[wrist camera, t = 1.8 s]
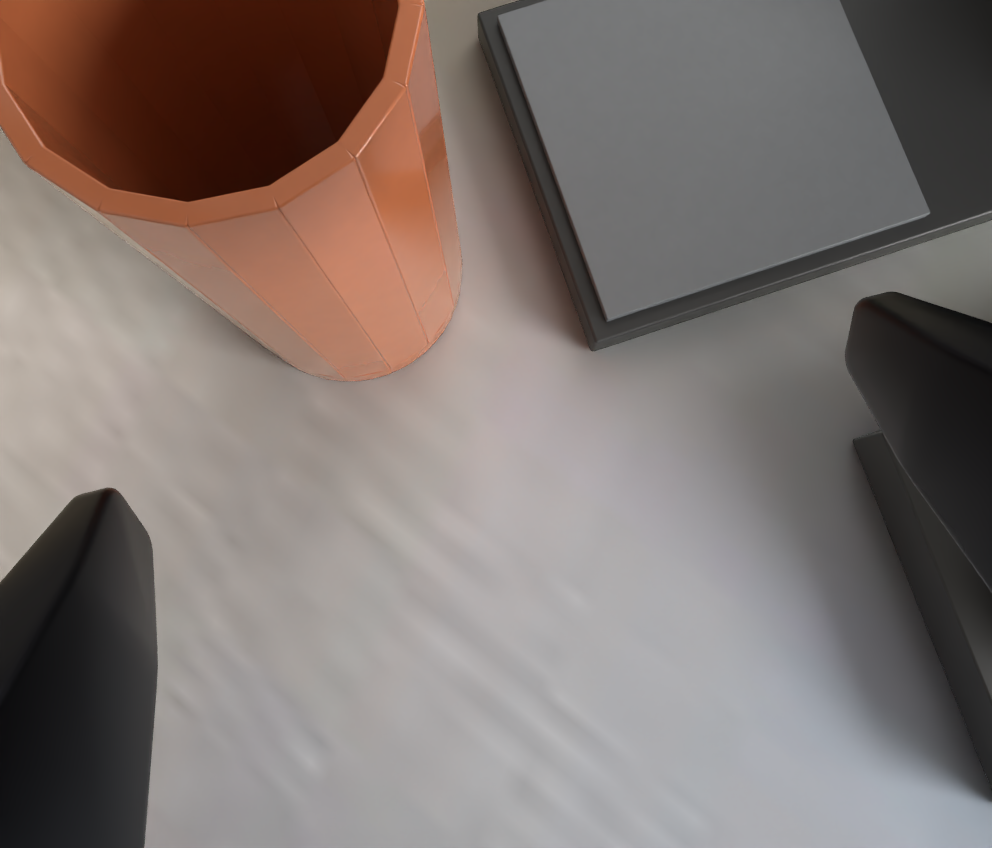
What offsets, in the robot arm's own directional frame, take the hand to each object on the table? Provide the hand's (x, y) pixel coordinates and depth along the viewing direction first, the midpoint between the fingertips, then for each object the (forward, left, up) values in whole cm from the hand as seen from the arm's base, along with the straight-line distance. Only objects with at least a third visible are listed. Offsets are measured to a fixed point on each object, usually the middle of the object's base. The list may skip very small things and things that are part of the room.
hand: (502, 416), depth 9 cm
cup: (+6, +6, -14) cm, 16 cm away
